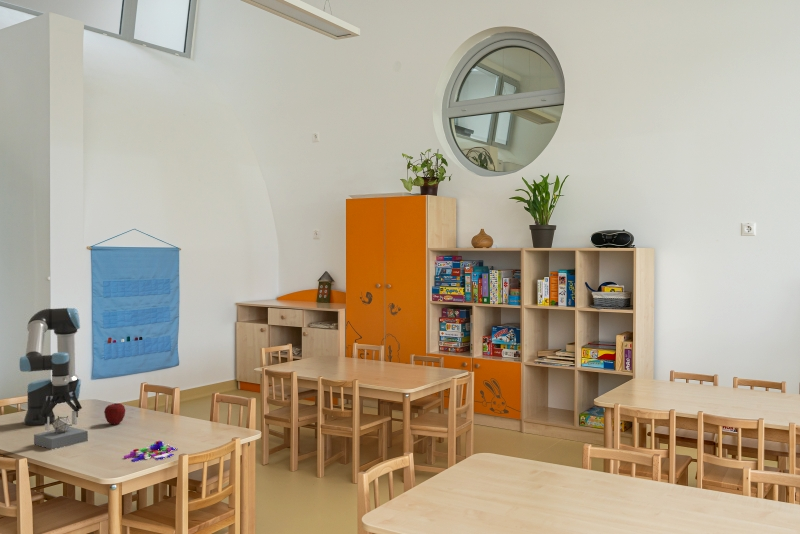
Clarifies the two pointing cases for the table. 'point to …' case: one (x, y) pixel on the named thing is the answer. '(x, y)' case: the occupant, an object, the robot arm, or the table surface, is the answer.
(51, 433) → the plinth
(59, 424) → the game die
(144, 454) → the building block set
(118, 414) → the apple
